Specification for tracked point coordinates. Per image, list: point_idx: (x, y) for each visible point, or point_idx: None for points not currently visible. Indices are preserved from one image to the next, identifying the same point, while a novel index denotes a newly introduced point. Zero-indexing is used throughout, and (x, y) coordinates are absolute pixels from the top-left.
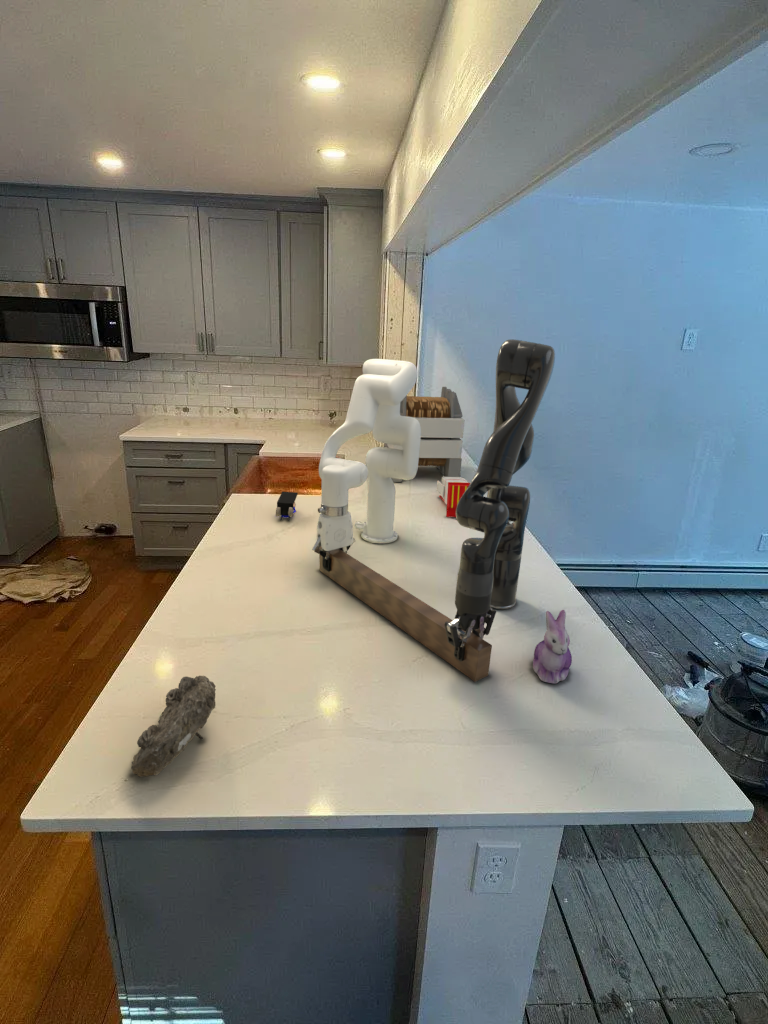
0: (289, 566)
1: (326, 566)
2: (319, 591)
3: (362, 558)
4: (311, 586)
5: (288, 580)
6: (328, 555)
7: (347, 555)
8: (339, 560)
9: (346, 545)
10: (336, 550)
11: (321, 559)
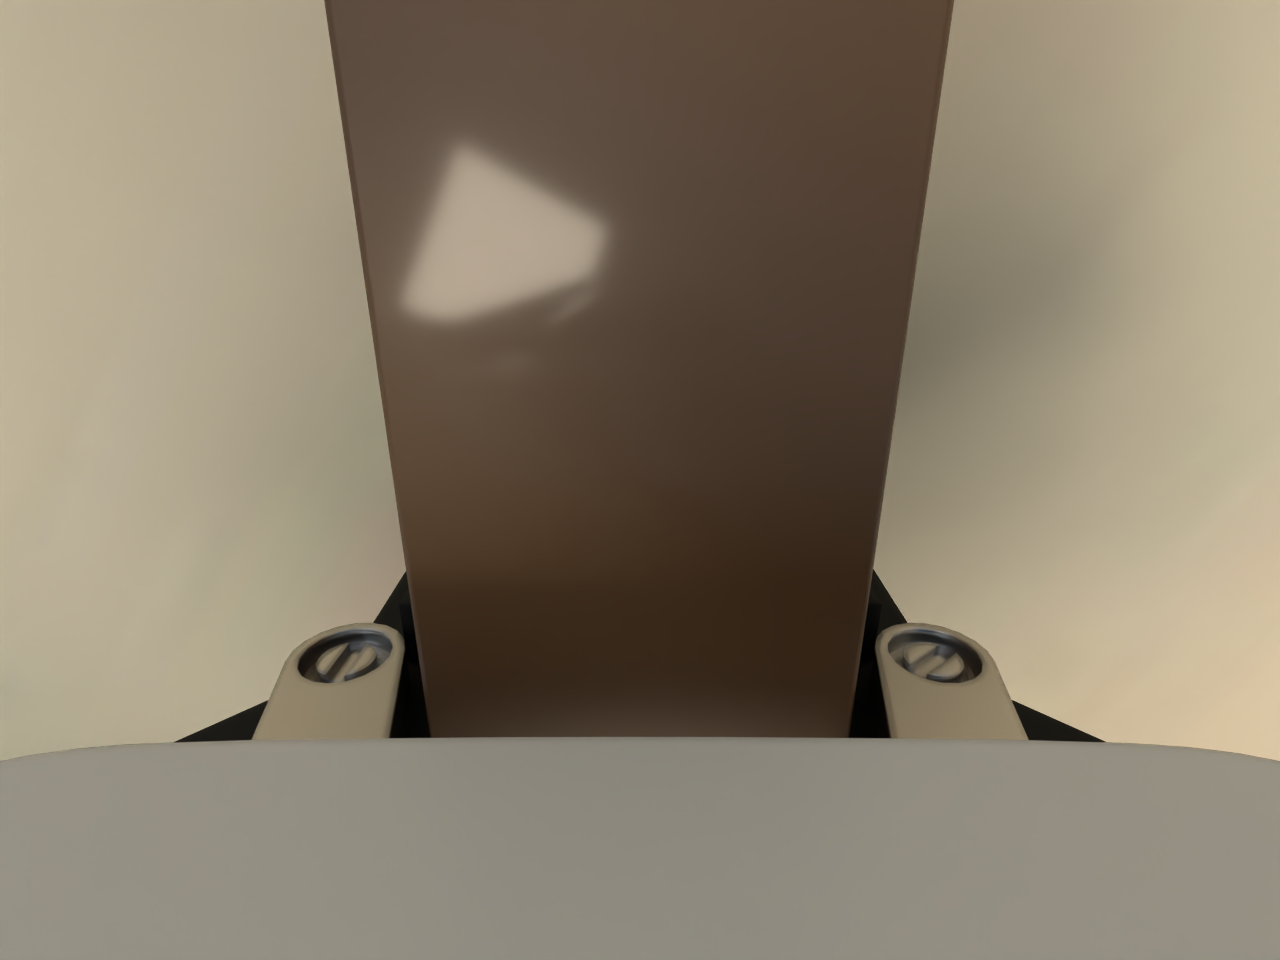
0: None
1: None
2: (1137, 174)
3: (49, 706)
4: (1103, 384)
5: (1188, 669)
6: (917, 689)
7: (449, 351)
8: (924, 173)
9: (232, 761)
10: None
11: None
